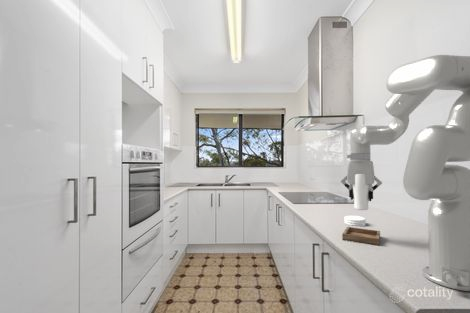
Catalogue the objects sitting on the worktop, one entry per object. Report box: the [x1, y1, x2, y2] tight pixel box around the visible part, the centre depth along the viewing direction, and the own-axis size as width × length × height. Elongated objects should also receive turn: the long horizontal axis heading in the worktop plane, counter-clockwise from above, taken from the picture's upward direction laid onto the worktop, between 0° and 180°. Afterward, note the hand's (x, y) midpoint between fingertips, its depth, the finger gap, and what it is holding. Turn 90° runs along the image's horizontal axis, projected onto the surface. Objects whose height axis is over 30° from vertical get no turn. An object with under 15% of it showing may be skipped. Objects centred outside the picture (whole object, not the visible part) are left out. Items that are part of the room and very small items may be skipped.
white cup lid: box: [344, 215, 367, 227], centre depth 126 cm, size 10×10×4 cm
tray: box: [341, 226, 381, 247], centre depth 102 cm, size 13×13×2 cm
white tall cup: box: [352, 174, 370, 211], centre depth 103 cm, size 7×7×15 cm
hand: (361, 199), depth 103 cm, fingers closed on white tall cup, 6 cm apart
